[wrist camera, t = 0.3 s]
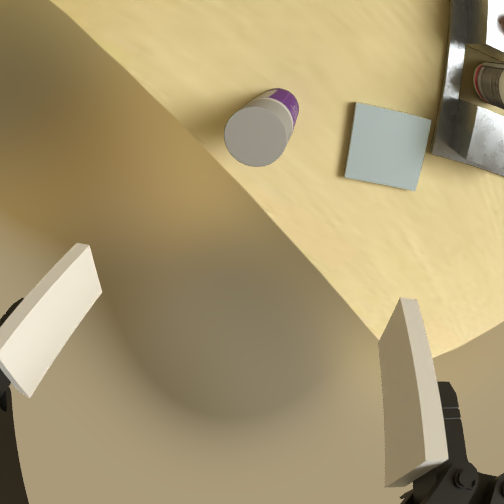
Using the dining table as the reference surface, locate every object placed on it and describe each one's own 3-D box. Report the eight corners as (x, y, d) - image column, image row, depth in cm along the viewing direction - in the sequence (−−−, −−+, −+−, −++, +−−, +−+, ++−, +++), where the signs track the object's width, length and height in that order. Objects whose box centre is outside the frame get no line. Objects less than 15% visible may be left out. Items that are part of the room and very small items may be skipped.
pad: (355, 101, 31) (356, 102, 30) (428, 118, 30) (431, 120, 29) (344, 174, 36) (344, 177, 36) (413, 188, 35) (415, 191, 34)
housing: (450, -16, 20) (471, -26, 15) (533, 26, 18) (560, 27, 13) (429, 152, 32) (447, 168, 27) (508, 176, 31) (531, 195, 26)
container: (306, 116, 33) (301, 151, 21) (270, 134, 35) (243, 179, 23) (286, 81, 31) (267, 92, 19) (250, 99, 33) (209, 125, 21)
